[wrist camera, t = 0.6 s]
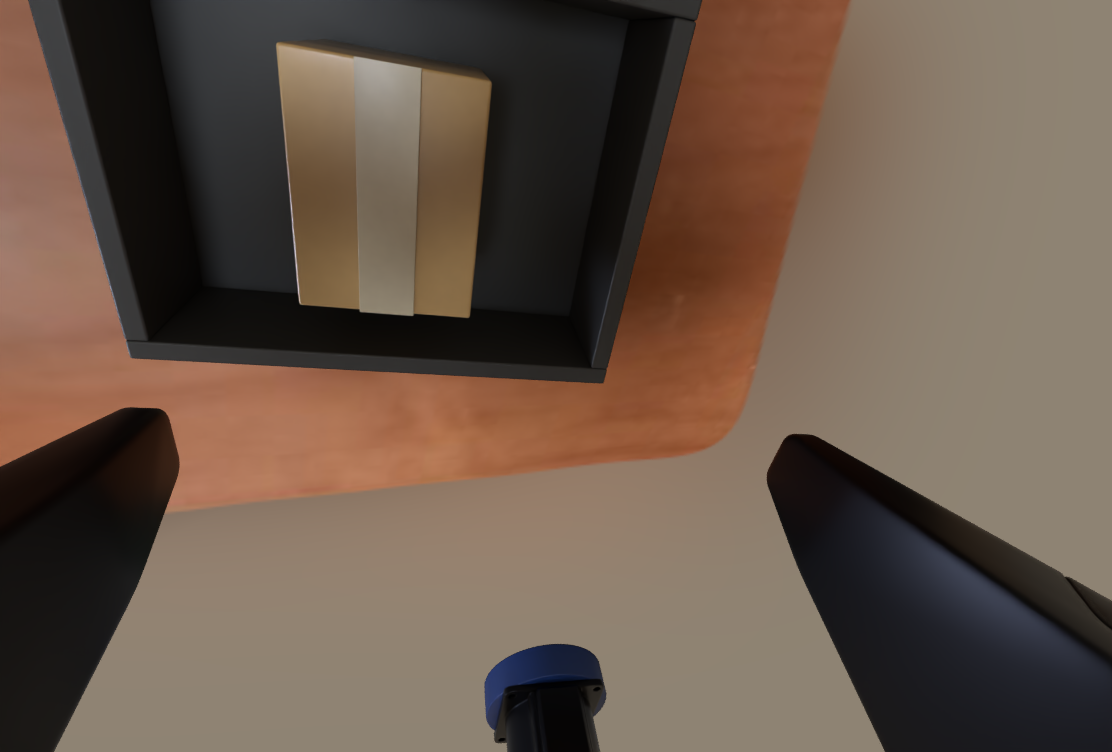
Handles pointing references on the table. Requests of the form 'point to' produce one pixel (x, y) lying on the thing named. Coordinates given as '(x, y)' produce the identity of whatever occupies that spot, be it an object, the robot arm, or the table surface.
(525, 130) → the bin
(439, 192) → the package
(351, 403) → the table surface
